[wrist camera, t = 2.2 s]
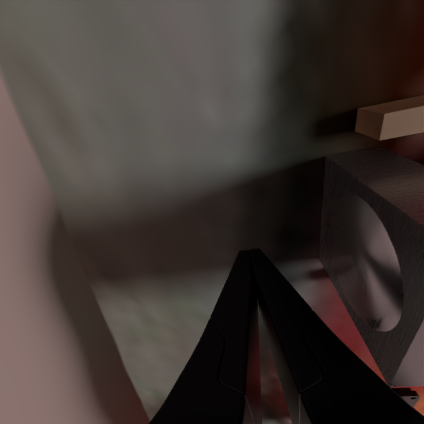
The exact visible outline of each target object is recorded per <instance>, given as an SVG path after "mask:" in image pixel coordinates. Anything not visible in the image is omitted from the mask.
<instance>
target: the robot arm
mask: <svg viewBox="0 0 424 424" xmlns="http://www.w3.org/2000/svg"><path fill="white" fill-rule="evenodd" d="M252 269H253V270H252ZM255 288H256V289H255ZM256 294H257V295H256ZM257 300H258V302H257ZM258 305H259V309H260V312H261V316H262V319H263V323H264V326H265V330H266V333H267V337H268V340H269V344H270V347H271V351H272V354H273V358H274V361H275V365H276V368H277V372H278V375H279V379H280V382H281V386H282V389H283V393H284V396H285V400H286V403H287V407H288V410H289V414H290V417H291V421H292V424H424V416H423V415H422V414H420V413H419V412H418V411H417V410H415V409H414V408H413V407H414V405H415V404H416V403H417V401H418V400H419V399H420V397H419V395H418V394H417V392H416V391H393V390H392V389H391V388H390V387H389V386H388V385H387V384H386V383H385V382H384V381H383V380H382V379H381V378H380V377H379V376H378V375H377V374H375V373H374V372H373V371H372V370H371V369H370V368H369V367H368V366H367V365H366V364H365V363H364V362H363V361H362V360H361V359H360V358H359V357H358V356H356V355H355V354H354V353H353V352H352V351H351V350H350V349H349V348H348V347H347V346H346V345H345V344H344V343H343V342H342V341H341V340H340V339H339V338H338V337H337V336H336V335H335V334H334V333H333V332H332V331H331V330H330V329H329V328H328V326H327V325H326V324H325V323H324V322H323V321H322V320H321V319H320V318H319V316H318V315H317V314H316V313H315V312H314V311H312V308H311V307H310V306H309V305H308V304H307V303H306V302H305V300H304V299H303V298H302V297H301V296H300V295H299V293H298V292H297V291H296V290H295V289H294V288H293V287H292V285H291V284H290V283H289V282H288V281H287V280H286V278H285V277H284V276H283V275H282V274H281V273H280V272H279V270H278V269H277V268H276V267H275V266H274V265H273V263H272V262H271V261H270V260H269V259H268V258H267V257H266V255H265V254H264V253H263V252H262V251H261V250H260V249H259V248H257V249H251V250H250V251H249V250H242V251H239V253H238V255H237V258H236V260H235V262H234V264H233V267H232V269H231V271H230V273H229V276H228V278H227V280H226V283H225V285H224V287H223V289H222V292H221V294H220V296H219V298H218V301H217V303H216V305H215V308H214V310H213V312H212V314H211V317H210V318H211V319H209V321H208V323H207V326H206V328H205V330H204V332H203V334H202V336H201V338H200V340H199V343H198V344H197V346H196V348H195V350H194V352H193V354H192V355H191V357H190V359H189V361H188V362H187V364H186V366H185V368H184V369H183V371H182V373H181V374H180V376H179V378H178V380H177V381H176V383H175V385H174V386H173V388H172V390H171V392H170V393H169V395H168V397H167V398H166V400H165V402H164V403H163V405H162V406H161V408H160V409H159V411H158V412H157V413H156V415H155V416H154V417H153V419H152V420H151V421H150V422H149V423H148V424H262V413H261V384H260V354H259V325H258Z"/></svg>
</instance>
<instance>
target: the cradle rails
mask: <svg viewBox="0 0 424 424" xmlns="http://www.w3.org/2000/svg"><path fill="white" fill-rule="evenodd" d="M355 131H356V132H358V133H361V134H364V135H366V136H369V137H372V138H374V139H377V140H384V139H390V138H395V137H400V136H406V135H411V134H416V133H422V132H424V95H420V96H415V97H411V98H406V99H401V100H397V101H392V102H387V103H382V104H378V105H373V106H368V107H363V108H359V109H358V111H357V119H356V127H355Z"/></svg>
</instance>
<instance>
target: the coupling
mask: <svg viewBox="0 0 424 424" xmlns="http://www.w3.org/2000/svg"><path fill="white" fill-rule="evenodd" d="M319 259H320V261H321V263H322V265H323V267H324V268H325V270H326V272H327V274H328V276H329V278H330V279H331V281H332V283H333V285H334V287H335V289H336V290H337V292H338V294H339V296H340V298H341V300H342V301H343V303H344V305H345V307H346V309H347V311H348V312H349V314H350V316H351V318H352V320H353V322H354V323H355V325H356V327H357V329H358V331H359V333H360V334H361V336H362V338H363V340H364V342H365V344H366V346H367V347H368V349H369V351H370V353H371V355H372V357H373V358H374V360H375V362H376V364H377V366H378V368H379V369H380V371H381V373H382V375H383V377H384V379H385V380H386V382H387V384H388V386H389V387H399V386H424V165H423V164H420V163H418V162H415V161H413V160H410V159H408V158H406V157H403V156H401V155H398V154H396V153H393V152H391V151H389V150H386V149H384V148H381V147H379V146H378V147H372V148H367V149H361V150H356V151H351V152H345V153H340V154H334V155H329V156H326V157H325V172H324V188H323V203H322V218H321V233H320V248H319Z"/></svg>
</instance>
